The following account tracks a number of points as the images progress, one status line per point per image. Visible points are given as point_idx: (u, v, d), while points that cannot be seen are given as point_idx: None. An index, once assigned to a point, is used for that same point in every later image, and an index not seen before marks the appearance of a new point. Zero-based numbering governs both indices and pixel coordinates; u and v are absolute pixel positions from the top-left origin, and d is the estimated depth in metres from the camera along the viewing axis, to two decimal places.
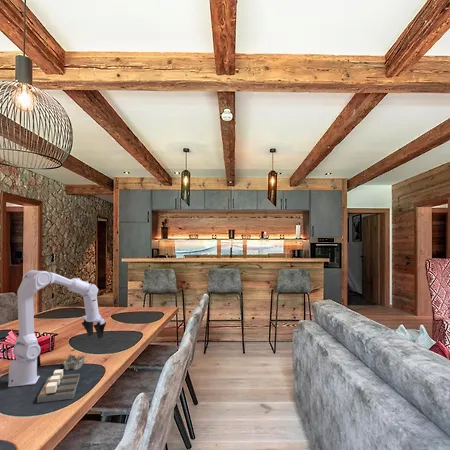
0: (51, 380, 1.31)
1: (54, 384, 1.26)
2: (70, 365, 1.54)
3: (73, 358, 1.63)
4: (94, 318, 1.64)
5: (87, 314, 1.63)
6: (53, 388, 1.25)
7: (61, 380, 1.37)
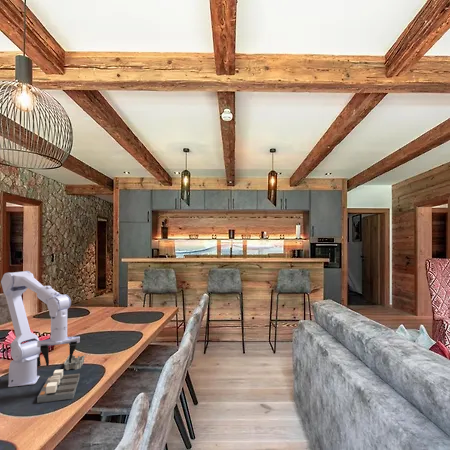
0: (51, 380, 1.31)
1: (54, 384, 1.26)
2: (71, 365, 1.54)
3: (73, 358, 1.63)
4: None
5: None
6: (53, 388, 1.25)
7: (61, 380, 1.37)
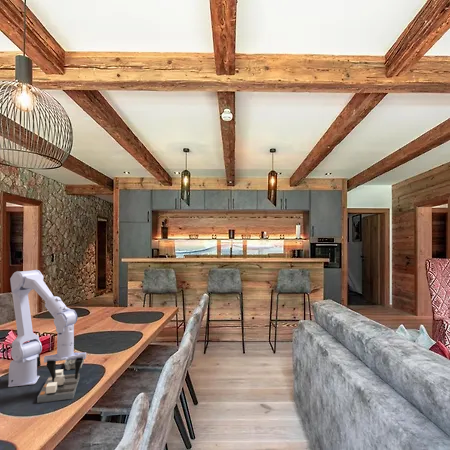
0: (55, 380, 1.31)
1: (54, 384, 1.26)
2: (71, 365, 1.54)
3: None
4: None
5: None
6: (53, 388, 1.25)
7: None
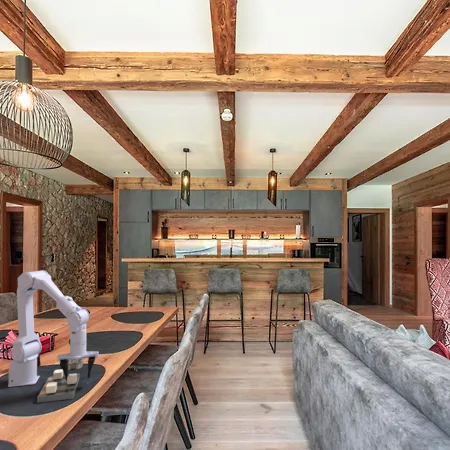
0: (68, 378, 1.32)
1: (54, 384, 1.26)
2: (72, 365, 1.55)
3: None
4: None
5: None
6: (53, 388, 1.25)
7: (61, 380, 1.37)
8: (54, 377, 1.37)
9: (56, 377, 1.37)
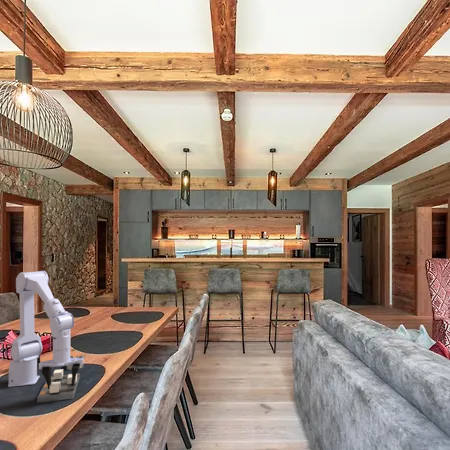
0: (68, 378, 1.32)
1: (57, 384, 1.26)
2: None
3: None
4: None
5: None
6: (57, 388, 1.25)
7: (61, 380, 1.37)
8: (54, 377, 1.37)
9: (56, 377, 1.37)
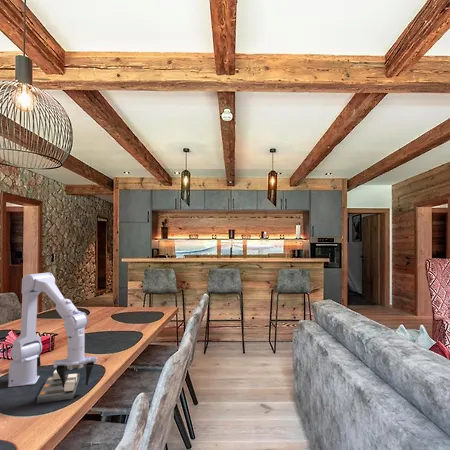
0: (68, 378, 1.32)
1: (72, 382, 1.28)
2: (74, 365, 1.55)
3: None
4: None
5: None
6: (71, 386, 1.26)
7: None
8: (54, 377, 1.37)
9: (56, 377, 1.37)
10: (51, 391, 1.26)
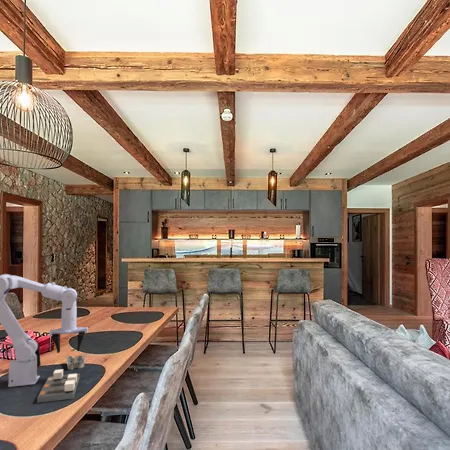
0: (68, 378, 1.32)
1: (72, 382, 1.28)
2: (74, 364, 1.55)
3: (70, 358, 1.62)
4: None
5: None
6: (71, 386, 1.27)
7: (61, 380, 1.37)
8: (54, 377, 1.37)
9: (56, 377, 1.37)
10: (51, 391, 1.26)
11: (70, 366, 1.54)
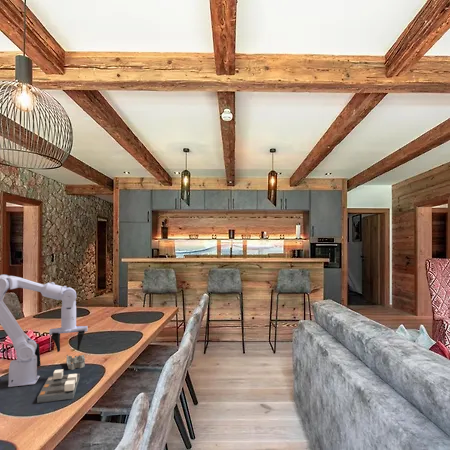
0: (68, 378, 1.32)
1: (72, 382, 1.28)
2: (75, 364, 1.55)
3: (70, 359, 1.62)
4: None
5: None
6: (71, 386, 1.27)
7: (61, 380, 1.37)
8: (54, 377, 1.37)
9: (56, 377, 1.37)
10: (51, 391, 1.26)
11: (71, 366, 1.54)
